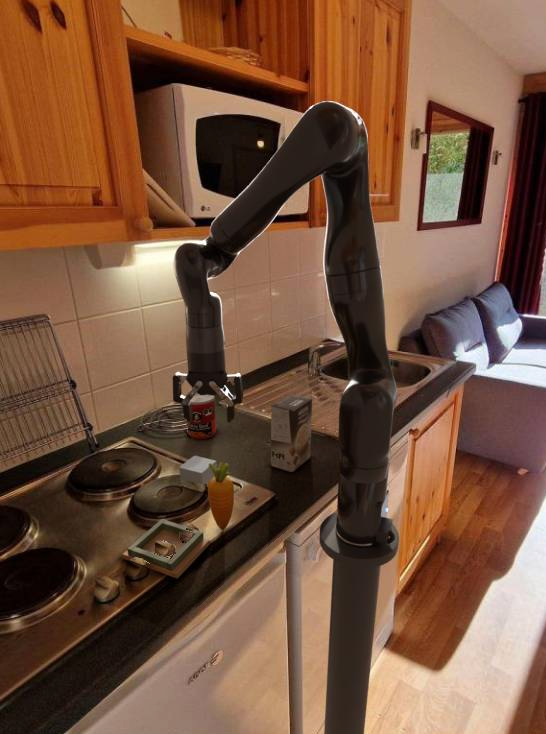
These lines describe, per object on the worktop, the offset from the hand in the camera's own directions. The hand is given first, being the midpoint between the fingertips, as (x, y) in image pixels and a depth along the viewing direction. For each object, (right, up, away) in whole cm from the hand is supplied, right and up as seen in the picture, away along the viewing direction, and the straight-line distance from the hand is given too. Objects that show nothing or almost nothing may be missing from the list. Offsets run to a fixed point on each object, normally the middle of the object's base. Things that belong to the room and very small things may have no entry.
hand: (209, 420), depth 101 cm
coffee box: (+17, -11, +18) cm, 27 cm away
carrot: (+4, -21, -7) cm, 23 cm away
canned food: (-7, -5, +32) cm, 34 cm away
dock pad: (-6, -24, -13) cm, 28 cm away
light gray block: (-4, -15, +8) cm, 17 cm away
